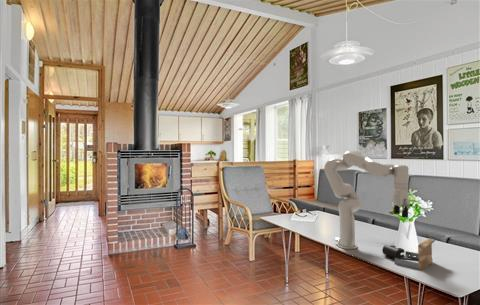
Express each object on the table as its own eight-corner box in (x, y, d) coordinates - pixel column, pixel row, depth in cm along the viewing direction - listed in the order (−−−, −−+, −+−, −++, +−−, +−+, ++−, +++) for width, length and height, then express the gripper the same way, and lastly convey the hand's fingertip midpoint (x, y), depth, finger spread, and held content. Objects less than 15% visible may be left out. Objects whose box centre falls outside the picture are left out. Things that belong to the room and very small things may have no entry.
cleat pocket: (394, 263, 170) (394, 258, 170) (406, 256, 183) (406, 251, 183) (418, 269, 161) (418, 263, 161) (428, 260, 174) (428, 255, 174)
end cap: (382, 256, 183) (382, 245, 183) (391, 254, 185) (391, 243, 185) (395, 261, 173) (395, 250, 173) (405, 260, 176) (404, 248, 176)
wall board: (418, 269, 161) (418, 245, 162) (428, 261, 174) (428, 238, 174) (425, 271, 159) (424, 246, 159) (435, 262, 171) (434, 239, 171)
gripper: (387, 184, 186) (387, 212, 186) (401, 188, 169) (401, 218, 169) (400, 184, 186) (400, 212, 186) (415, 188, 168) (415, 218, 168)
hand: (400, 215), depth 177 cm, fingers open, 9 cm apart
